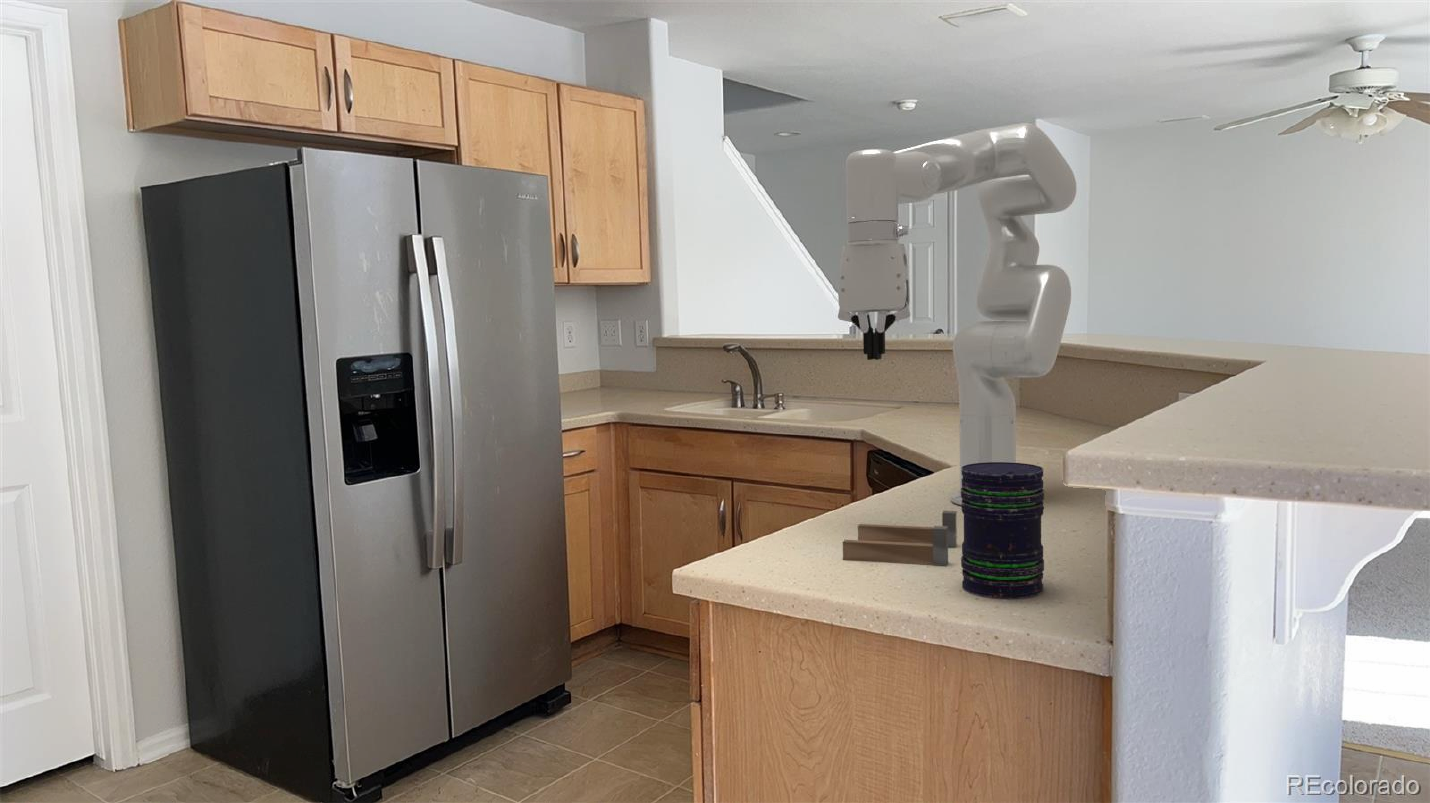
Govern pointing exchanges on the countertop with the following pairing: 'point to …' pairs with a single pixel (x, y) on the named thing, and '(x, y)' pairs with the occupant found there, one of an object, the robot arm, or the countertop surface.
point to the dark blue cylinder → (1002, 530)
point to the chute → (904, 543)
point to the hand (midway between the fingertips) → (874, 359)
